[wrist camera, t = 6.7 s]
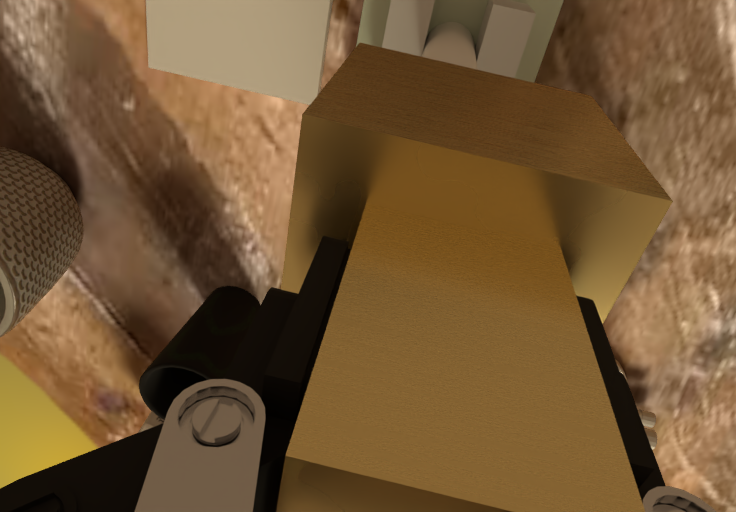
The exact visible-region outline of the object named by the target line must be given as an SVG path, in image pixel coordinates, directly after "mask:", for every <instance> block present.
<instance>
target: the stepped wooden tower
mask: <svg viewBox="0 0 736 512" xmlns="http://www.w3.org/2000/svg"><path fill="white" fill-rule="evenodd" d="M672 202H673V201H672V200H671V198H670V197H669V196H668V194H667V193H666V192H665V190H664V189H663V188H662V187H661V185H660V184H659V183H658V181H657V180H656V179H655V178H654V176H653V175H652V174H651V172H650V171H649V170H648V169H647V167H646V166H645V165H644V163H643V162H642V161H641V159H640V158H639V157H638V156H637V154H636V153H635V152H634V150H633V149H632V148H631V147H630V145H629V144H628V143H627V141H626V140H625V139H624V138H623V136H622V135H621V134H620V132H619V131H618V130H617V128H616V127H615V126H614V125H613V123H612V122H611V121H610V119H609V118H608V117H607V116H606V114H605V113H604V112H603V110H602V109H601V108H600V107H599V105H598V104H597V103H596V101H595V100H594V99H593V97H592V96H589V95H585V94H580V93H576V92H572V91H567V90H563V89H559V88H554V87H550V86H546V85H541V84H537V83H533V82H528V81H524V80H520V79H516V78H511V77H507V76H503V75H498V74H494V73H490V72H485V71H481V70H477V69H472V68H468V67H464V66H459V65H455V64H451V63H447V62H442V61H438V60H434V59H429V58H425V57H421V56H416V55H412V54H408V53H403V52H399V51H395V50H390V49H386V48H382V47H377V46H373V45H369V44H365V43H359V44H358V45H357V47H356V48H355V49H354V50H353V52H352V53H351V54H350V55H349V57H348V58H347V59H346V60H345V62H344V63H343V64H342V66H341V67H340V68H339V69H338V71H337V72H336V73H335V74H334V76H333V77H332V78H331V79H330V81H329V82H328V83H327V84H326V86H325V87H324V88H323V89H322V91H321V92H320V93H319V94H318V96H317V97H316V98H315V99H314V101H313V102H312V103H311V104H310V106H309V107H308V108H307V109H306V111H305V112H304V113H303V114H302V122H301V130H300V138H299V147H298V155H297V163H296V171H295V179H294V187H293V195H292V204H291V212H290V220H289V228H288V236H287V244H286V252H285V261H284V269H283V277H282V285H281V290H285V291H289V292H293V293H297V294H299V291H300V289H301V286H302V284H303V282H304V279H305V277H306V275H307V272H308V270H309V268H310V265H311V263H312V260H313V258H314V256H315V253H316V251H317V249H318V246H319V244H320V242H321V239H322V237H323V236H328V237H332V238H336V239H341V240H345V241H349V246H348V248H349V249H351V252H350V256H349V259H348V262H347V265H346V268H345V271H344V274H343V277H342V281H341V284H340V287H339V290H338V293H337V296H336V299H335V302H334V306H333V309H332V312H331V315H330V318H329V321H328V324H327V327H326V331H325V334H324V337H323V340H322V343H321V346H320V349H319V352H318V356H317V359H316V362H315V365H314V368H313V371H312V374H311V377H310V381H309V384H308V387H307V390H306V393H305V396H304V399H303V402H302V406H301V409H300V412H299V415H298V418H297V421H296V424H295V427H294V431H293V434H292V437H291V440H290V443H289V446H288V449H287V452H286V456H285V461H284V467H283V473H282V479H281V486H280V492H279V498H278V504H277V510H276V512H645V509H644V506H643V503H642V500H641V497H640V494H639V491H638V488H637V484H636V481H635V478H634V475H633V472H632V469H631V466H630V463H629V459H628V456H627V453H626V450H625V447H624V444H623V441H622V438H621V434H620V431H619V428H618V425H617V422H616V419H615V416H614V413H613V409H612V406H611V403H610V400H609V397H608V394H607V391H606V388H605V384H604V381H603V378H602V375H601V372H600V369H599V366H598V363H597V359H596V356H595V353H594V350H593V347H592V344H591V341H590V338H589V334H588V331H587V328H586V325H585V322H584V319H583V316H582V313H581V309H580V306H579V303H578V300H577V297H576V296H580V297H585V298H589V299H592V300H593V301H594V303H595V305H596V308H597V311H598V314H599V316H600V319H601V322H602V324H603V322H604V321H605V319H606V317H607V315H608V314H609V312H610V310H611V308H612V307H613V305H614V303H615V301H616V300H617V298H618V296H619V294H620V293H621V291H622V289H623V287H624V286H625V284H626V282H627V280H628V279H629V277H630V275H631V273H632V272H633V270H634V268H635V266H636V265H637V263H638V261H639V259H640V258H641V256H642V254H643V252H644V251H645V249H646V247H647V245H648V244H649V242H650V240H651V238H652V237H653V235H654V233H655V231H656V230H657V228H658V226H659V225H660V223H661V221H662V219H663V218H664V216H665V214H666V212H667V211H668V209H669V207H670V205H671V204H672Z"/></svg>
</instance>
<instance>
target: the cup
mask: <svg viewBox="0 0 736 512" xmlns="http://www.w3.org/2000/svg"><path fill="white" fill-rule="evenodd" d="M259 308H260V304H259V302H258V301H257V299H256V298H255V297H254V296H253V295H252V294H250V293H249V292H247V291H245V290H243V289H241V288H238V287H233V286H225V287H220V288H218V289H216V290H215V291H213V292H212V293H211V295H210V296H209V297H208V298H207V299H206V300H205V302H204V303H203V304H202V305H201V306H200V307H199V309H198V310H197V311H196V312H195V313H194V315H193V316H192V317H191V318H190V319H189V320H188V322H187V323H186V324H185V325H184V326H183V327H182V329H181V330H180V331H179V332H178V333H177V334H176V336H175V337H174V338H173V339H172V340H171V341H170V343H169V344H168V345H167V346H166V347H165V348H164V350H163V351H162V352H161V353H160V354H159V355H158V357H157V358H156V359H155V360H154V361H153V363H152V364H151V365H150V366H149V367H148V368H147V370H146V371H145V372H144V373H143V375H142V376H141V378H140V382H139V389H140V394H141V396H142V398H143V400H144V402H145V403H146V405H147V406H148V407H149V409H150V410H151V411H152V412H154V413H155V414H156V415H157V416H158V417H160V418H161V419H163V420H164V421H165V418H166V415H167V412H168V410H169V408H170V406H171V404H172V402H173V400H174V399H175V398H176V397H177V396H178V395H179V394H180V393H181V392H182V391H183V390H185V389H186V388H188V387H190V386H192V385H194V384H196V383H198V382H202V381H206V380H210V379H224V377H225V375H226V373H227V371H228V369H229V367H230V365H231V363H232V361H233V359H234V357H235V355H236V353H237V351H238V349H239V347H240V345H241V343H242V341H243V339H244V337H245V335H246V334H247V332H248V330H249V328H250V326H251V324H252V322H253V320H254V318H255V316H256V314H257V312H258V310H259Z"/></svg>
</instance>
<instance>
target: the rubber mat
mask: <svg viewBox="0 0 736 512" xmlns="http://www.w3.org/2000/svg"><path fill="white" fill-rule="evenodd" d="M332 2H333V0H146V17H147V41H148V65H149V68H153V69H158V70H162V71H166V72H170V73H175V74H179V75H183V76H188V77H192V78H196V79H200V80H205V81H209V82H213V83H218V84H222V85H226V86H230V87H235V88H239V89H243V90H248V91H252V92H256V93H260V94H265V95H269V96H273V97H278V98H282V99H286V100H290V101H295V102H299V103H303V104H308V105H310V104H311V103H312V102H313V101H314V99H315V98H316V97H317V96H318V94H319V93H320V89H321V82H322V75H323V67H324V60H325V53H326V46H327V38H328V31H329V24H330V17H331V9H332Z"/></svg>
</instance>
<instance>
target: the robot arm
mask: <svg viewBox="0 0 736 512" xmlns="http://www.w3.org/2000/svg"><path fill="white" fill-rule="evenodd" d="M348 246H349V241H345V240H341V239H336V238H332V237H328V236H323V237H322V239H321V242H320V244H319V246H318V249H317V251H316V253H315V256H314V258H313V260H312V263H311V265H310V268H309V270H308V272H307V275H306V277H305V279H304V282H303V284H302V286H301V289H300V291H299V294H297V293H293V292H289V291H285V290H281V289H277V288H270V289H269V291H268V292H267V294H266V296H265V298H264V300H263V302H262V304H261V306H260V308H259V310H258V312H257V314H256V316H255V318H254V320H253V322H252V324H251V326H250V328H249V330H248V332H247V334H246V335H245V337H244V339H243V341H242V343H241V345H240V347H239V349H238V351H237V353H236V355H235V357H234V359H233V361H232V363H231V365H230V367H229V369H228V371H227V373H226V375H225V377H224V379H210V380H206V381H202V382H198V383H196V384H194V385H192V386H190V387H188V388H186V389H185V390H183V391H182V392H181V393H180V394H179V395H178V396H177V397H176V398H175V399H174V400H173V402H172V404H171V406H170V408H169V410H168V412H167V415H166V418H165V421H164V423H162V424H160V425H157V426H155V427H152V428H150V429H147V430H144V431H142V432H139V433H137V434H134V435H132V436H129V437H126V438H124V439H121V440H119V441H116V442H114V443H111V444H108V445H106V446H103V447H101V448H98V449H96V450H93V451H91V452H88V453H85V454H83V455H80V456H78V457H75V458H73V459H70V460H67V461H65V462H62V463H60V464H57V465H54V466H52V467H49V468H47V469H44V470H42V471H39V472H37V473H34V474H31V475H29V476H26V477H24V478H21V479H19V480H16V481H14V482H13V483H11V484H9V485H7V486H5V487H3V488H1V489H0V512H276V510H277V504H278V498H279V492H280V486H281V479H282V473H283V467H284V461H285V456H286V452H287V449H288V446H289V443H290V440H291V437H292V434H293V431H294V427H295V424H296V421H297V418H298V415H299V412H300V409H301V406H302V402H303V399H304V396H305V393H306V390H307V387H308V384H309V381H310V377H311V374H312V371H313V368H314V365H315V362H316V359H317V356H318V352H319V349H320V346H321V343H322V340H323V337H324V334H325V331H326V327H327V324H328V321H329V318H330V315H331V312H332V309H333V306H334V302H335V299H336V296H337V293H338V290H339V287H340V284H341V281H342V277H343V274H344V271H345V268H346V265H347V262H348V259H349V256H350V252H351V249H349V248H348ZM576 297H577V300H578V303H579V306H580V309H581V313H582V316H583V319H584V322H585V325H586V328H587V331H588V334H589V338H590V341H591V344H592V347H593V350H594V353H595V356H596V359H597V363H598V366H599V369H600V372H601V375H602V378H603V381H604V384H605V388H606V391H607V394H608V397H609V400H610V403H611V406H612V409H613V413H614V416H615V419H616V422H617V425H618V428H619V431H620V434H621V438H622V441H623V444H624V447H625V450H626V453H627V456H628V459H629V463H630V466H631V469H632V472H633V475H634V478H635V481H636V484H637V488H638V491H639V494H640V497H641V500H642V503H643V506H644V509H645V512H716V511H715V510H714V509H713V508H712V507H710V506H709V505H708V504H706V503H705V502H704V501H702V500H701V499H700V498H698V497H696V496H694V495H692V494H690V493H688V492H686V491H684V490H681V489H678V488H674V487H670V486H665V483H664V480H663V478H662V475H661V472H660V470H659V467H658V464H657V461H656V459H655V456H654V453H653V451H652V450H653V449H654V448H655V446H656V444H657V435H656V432H655V431H654V430H651V429H647V428H644V426H648V427H653V426H654V425H655V422H656V416H655V414H654V413H652V412H648V411H644V410H637V407H636V405H635V402H634V399H633V397H632V394H631V391H630V389H629V386H628V381H627V378H626V375H625V373H624V370H623V368H622V367H621V365H620V363H619V362H618V361H617V360H616V359H615V358H614V355H613V352H612V350H611V347H610V344H609V341H608V338H607V336H606V333H605V330H604V327H603V325H602V322H601V319H600V316H599V314H598V311H597V308H596V305H595V303H594V301H593V300H592V299H589V298H585V297H580V296H576ZM643 425H644V426H643Z"/></svg>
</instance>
